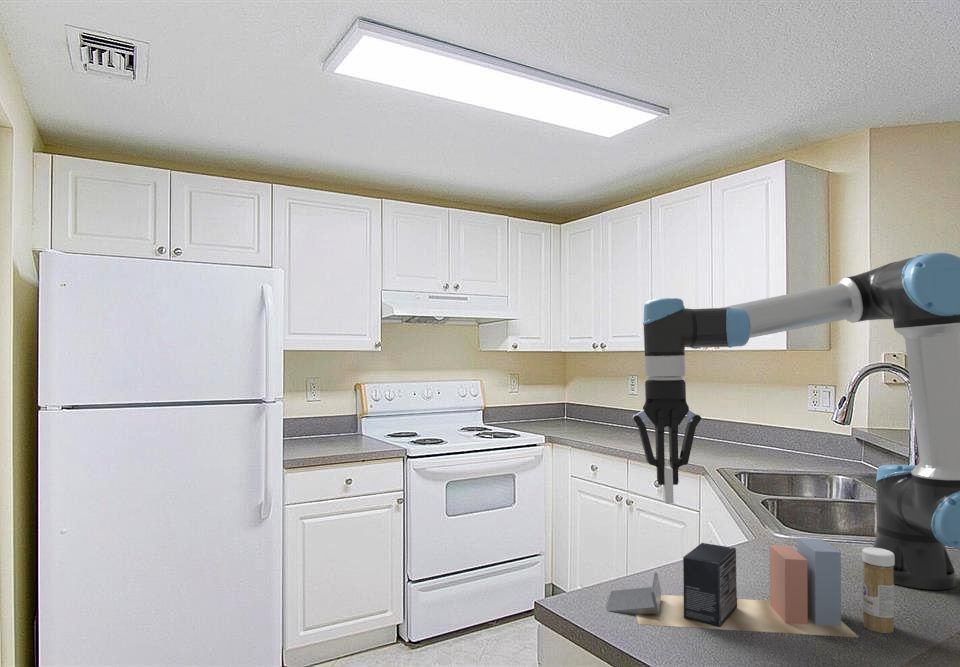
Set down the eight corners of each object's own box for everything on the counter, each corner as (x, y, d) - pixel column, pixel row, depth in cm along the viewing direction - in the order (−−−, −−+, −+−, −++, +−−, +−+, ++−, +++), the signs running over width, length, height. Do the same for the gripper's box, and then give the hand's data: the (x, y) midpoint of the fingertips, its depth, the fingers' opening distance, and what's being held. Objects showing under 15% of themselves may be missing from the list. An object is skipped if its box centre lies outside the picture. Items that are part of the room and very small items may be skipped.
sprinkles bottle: (856, 627, 109) (856, 546, 109) (884, 627, 109) (883, 546, 109) (873, 639, 104) (872, 554, 104) (901, 639, 104) (901, 555, 104)
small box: (700, 599, 118) (700, 540, 118) (738, 607, 114) (738, 547, 114) (681, 618, 109) (681, 555, 109) (721, 628, 105) (720, 562, 106)
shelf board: (822, 609, 116) (822, 603, 116) (859, 643, 102) (859, 637, 102) (629, 598, 120) (629, 593, 120) (638, 630, 106) (638, 624, 106)
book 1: (790, 605, 115) (790, 545, 115) (807, 624, 107) (807, 560, 107) (769, 604, 115) (769, 545, 116) (785, 623, 108) (785, 559, 108)
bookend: (657, 572, 118) (608, 577, 121) (654, 592, 109) (601, 596, 112) (661, 591, 118) (612, 596, 120) (658, 612, 109) (606, 617, 112)
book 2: (821, 607, 114) (821, 538, 115) (841, 626, 106) (840, 552, 107) (797, 606, 115) (797, 537, 115) (815, 624, 107) (815, 551, 107)
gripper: (695, 377, 129) (698, 497, 128) (628, 378, 130) (631, 497, 129) (704, 379, 121) (708, 506, 120) (633, 379, 122) (636, 506, 122)
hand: (668, 501), depth 125 cm, fingers closed
